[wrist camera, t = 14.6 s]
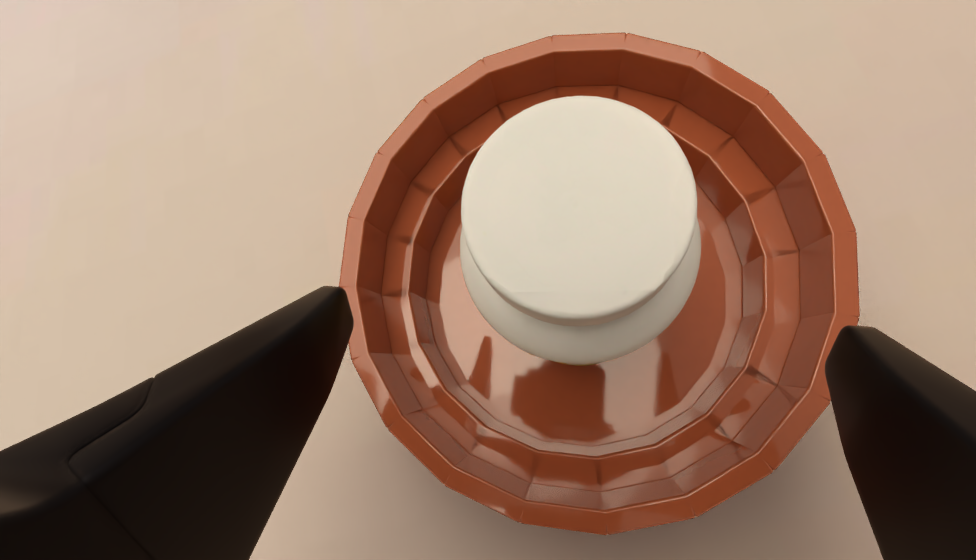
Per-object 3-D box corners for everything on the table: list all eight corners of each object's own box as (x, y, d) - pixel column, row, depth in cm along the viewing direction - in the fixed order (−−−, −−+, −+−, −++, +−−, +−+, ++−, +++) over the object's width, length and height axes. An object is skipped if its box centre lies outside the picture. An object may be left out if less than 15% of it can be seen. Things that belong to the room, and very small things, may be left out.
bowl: (840, 171, 17) (931, 106, 13) (704, 565, 16) (753, 640, 12) (475, 68, 20) (448, -13, 16) (336, 389, 19) (266, 397, 15)
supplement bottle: (678, 334, 17) (809, 297, 7) (530, 386, 17) (479, 413, 8) (617, 195, 18) (665, 10, 9) (481, 248, 18) (386, 129, 9)
